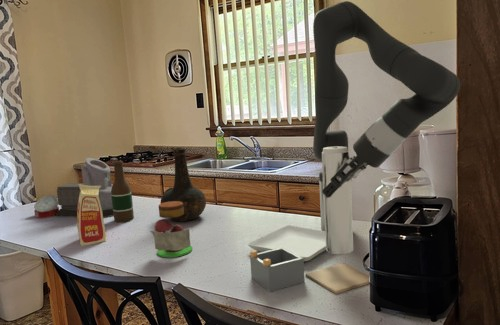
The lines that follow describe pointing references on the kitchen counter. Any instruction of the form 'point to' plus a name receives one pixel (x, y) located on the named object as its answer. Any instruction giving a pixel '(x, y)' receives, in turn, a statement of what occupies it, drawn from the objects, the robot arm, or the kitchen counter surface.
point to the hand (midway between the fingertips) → (330, 191)
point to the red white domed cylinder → (46, 207)
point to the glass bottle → (184, 190)
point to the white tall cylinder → (337, 203)
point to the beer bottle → (121, 195)
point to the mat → (339, 278)
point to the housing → (276, 268)
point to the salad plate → (293, 241)
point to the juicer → (92, 176)
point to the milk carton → (90, 216)
